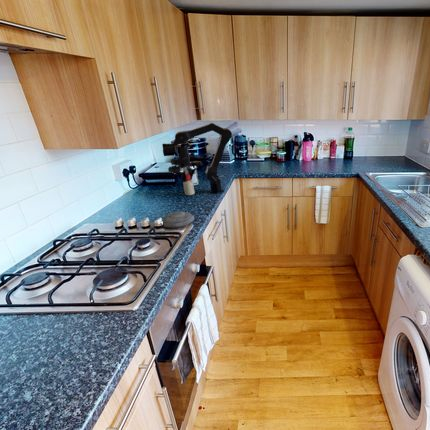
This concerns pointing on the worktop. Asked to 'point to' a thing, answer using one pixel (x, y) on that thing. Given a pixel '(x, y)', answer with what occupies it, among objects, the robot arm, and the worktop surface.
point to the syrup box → (195, 176)
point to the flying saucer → (177, 219)
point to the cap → (188, 177)
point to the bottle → (189, 187)
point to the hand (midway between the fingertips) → (187, 181)
